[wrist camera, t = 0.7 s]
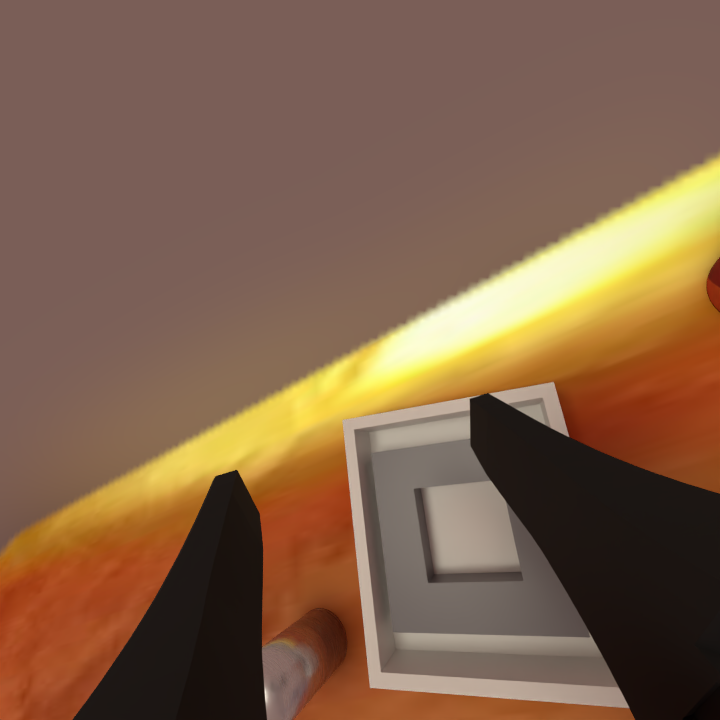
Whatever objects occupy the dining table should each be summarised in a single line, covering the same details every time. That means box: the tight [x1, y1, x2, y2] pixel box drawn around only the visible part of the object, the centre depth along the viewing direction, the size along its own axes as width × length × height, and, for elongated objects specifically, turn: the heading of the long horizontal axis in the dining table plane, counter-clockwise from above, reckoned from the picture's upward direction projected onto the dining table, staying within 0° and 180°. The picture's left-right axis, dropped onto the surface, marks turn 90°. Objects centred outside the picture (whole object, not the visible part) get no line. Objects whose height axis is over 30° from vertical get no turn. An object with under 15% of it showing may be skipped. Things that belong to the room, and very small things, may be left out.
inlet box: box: [343, 382, 629, 708], centre depth 24 cm, size 16×14×4 cm
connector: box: [262, 608, 347, 720], centre depth 24 cm, size 4×4×8 cm
